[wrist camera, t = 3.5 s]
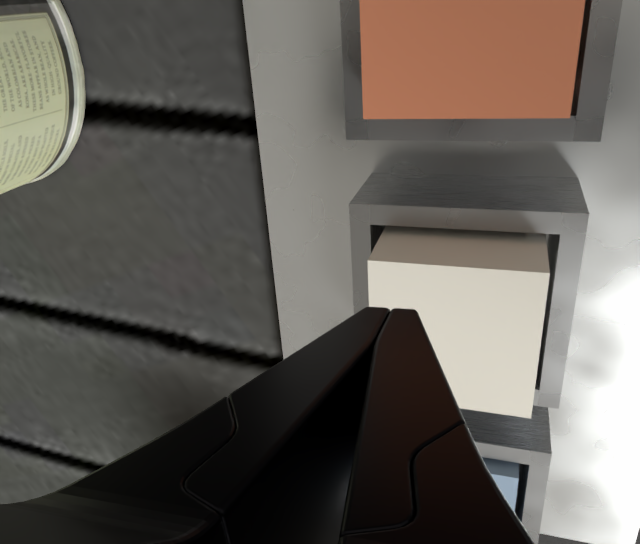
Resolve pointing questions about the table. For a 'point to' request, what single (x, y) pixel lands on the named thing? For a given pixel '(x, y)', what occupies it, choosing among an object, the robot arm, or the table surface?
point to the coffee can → (37, 90)
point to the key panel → (474, 214)
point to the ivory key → (471, 306)
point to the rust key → (469, 58)
